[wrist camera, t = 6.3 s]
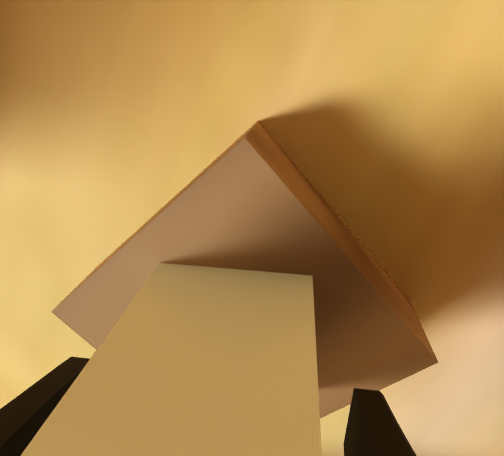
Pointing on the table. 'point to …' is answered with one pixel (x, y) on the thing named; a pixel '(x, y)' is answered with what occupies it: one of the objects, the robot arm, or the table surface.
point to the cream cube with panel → (198, 372)
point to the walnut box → (268, 266)
